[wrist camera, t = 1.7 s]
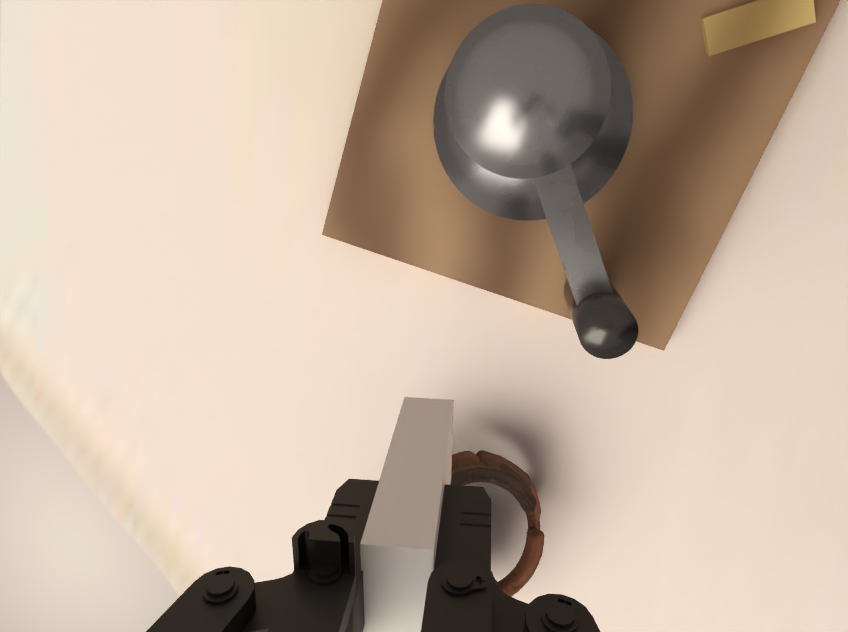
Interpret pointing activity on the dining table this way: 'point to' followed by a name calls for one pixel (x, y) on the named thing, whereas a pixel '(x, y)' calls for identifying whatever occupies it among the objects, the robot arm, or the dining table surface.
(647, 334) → the stand board
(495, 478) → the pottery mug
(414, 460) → the robot arm
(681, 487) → the dining table surface
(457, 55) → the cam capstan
